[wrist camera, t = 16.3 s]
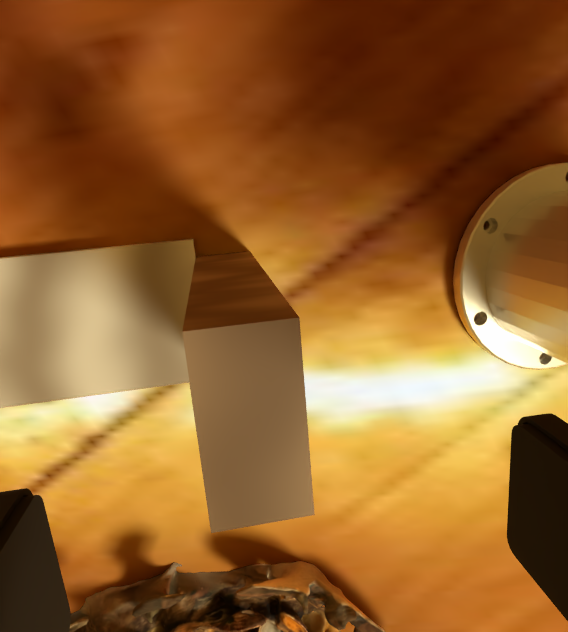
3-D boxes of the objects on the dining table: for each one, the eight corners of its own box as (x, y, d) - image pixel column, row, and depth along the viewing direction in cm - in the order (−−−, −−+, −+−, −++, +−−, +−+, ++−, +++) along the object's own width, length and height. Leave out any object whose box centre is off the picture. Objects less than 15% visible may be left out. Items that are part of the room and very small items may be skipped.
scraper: (247, 233, 26) (296, 279, 12) (261, 367, 28) (316, 543, 14) (-149, 271, 24) (-687, 389, 9) (-102, 416, 26) (-486, 692, 12)
